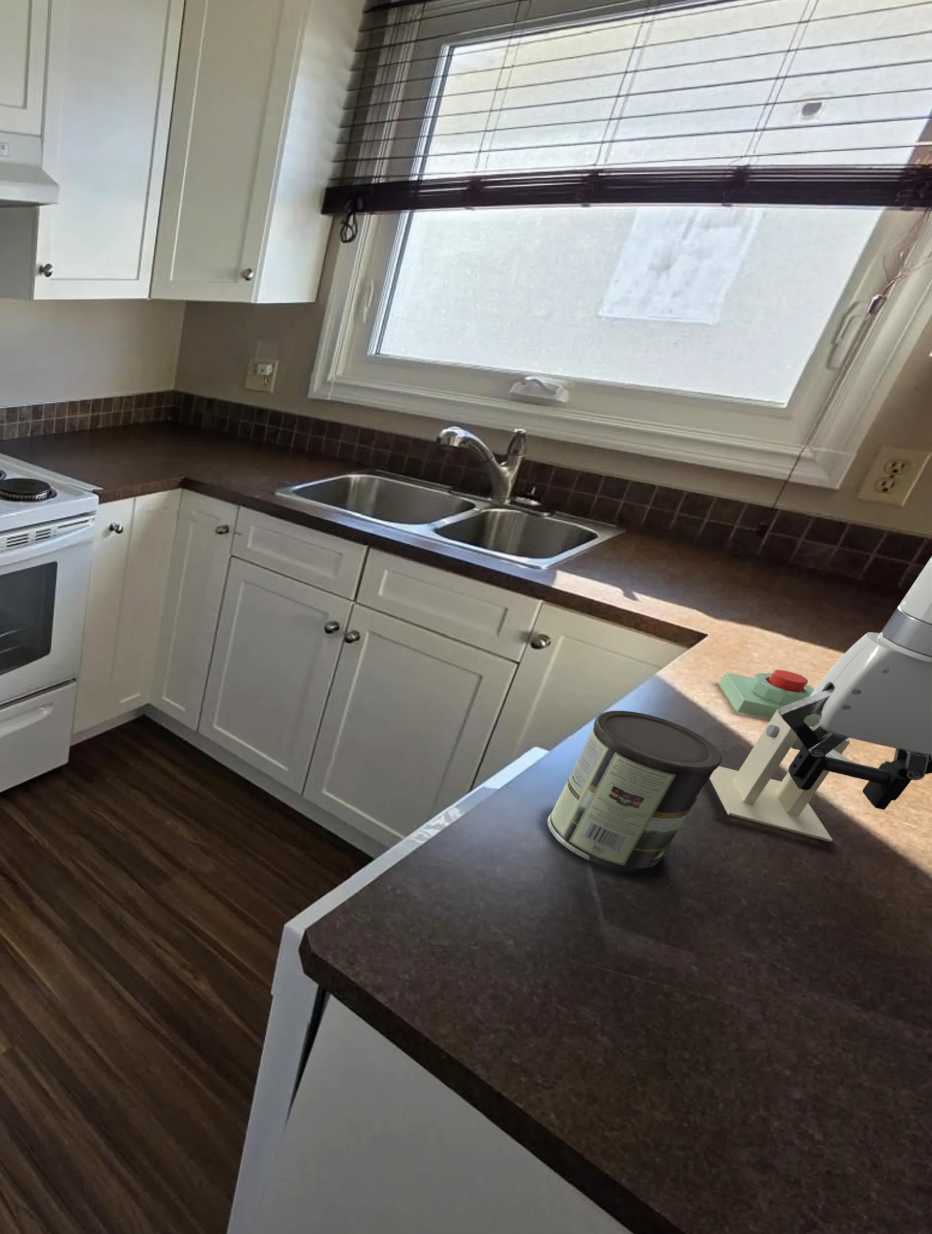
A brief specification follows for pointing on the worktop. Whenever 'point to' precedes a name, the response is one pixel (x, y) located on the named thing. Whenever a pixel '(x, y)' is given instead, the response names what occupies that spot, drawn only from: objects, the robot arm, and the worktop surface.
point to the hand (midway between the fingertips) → (835, 790)
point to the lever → (849, 766)
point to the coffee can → (631, 788)
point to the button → (788, 681)
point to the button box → (761, 696)
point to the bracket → (771, 786)
